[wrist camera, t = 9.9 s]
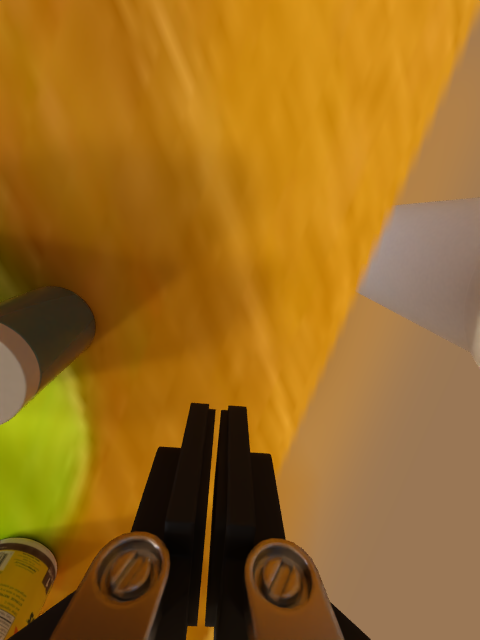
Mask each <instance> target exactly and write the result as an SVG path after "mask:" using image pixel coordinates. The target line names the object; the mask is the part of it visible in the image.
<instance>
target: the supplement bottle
mask: <svg viewBox="0 0 480 640" xmlns="http://www.w3.org/2000/svg"><path fill="white" fill-rule="evenodd" d="M56 574H57V563H56V560H55V557H54V556H53V554H52V553H51V551H50V550H49V549H48V548H46V547H45V546H44V545H42V544H41V543H39V542H36V541H34V540H31V539H26V538H7V539H3V540H0V640H7V639H8V638H10V637H11V636H13V635H14V634H15V633H17V632H18V631H20V630H21V629H22V628H24V627H25V626H27V625H28V624H29V623H31V622H32V621H34V620H35V619H36V618H38V615H39V613H40V611H41V609H42V607H43V605H44V603H45V600H46V598H47V596H48V594H49V592H50V589H51V587H52V585H53V583H54V580H55V578H56Z"/></svg>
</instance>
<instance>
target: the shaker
mask: <svg viewBox="0 0 480 640" xmlns="http://www.w3.org/2000/svg"><path fill="white" fill-rule="evenodd" d="M94 335H95V320H94V316H93V314H92V312H91V310H90V308H89V306H88V305H87V304H86V303H85V301H84V300H83V299H82V298H80V297H79V296H78V295H76V294H75V293H73V292H71V291H69V290H67V289H64V288H61V287H55V286H46V287H40V288H37V289H34V290H32V291H29V292H26V293H23V294H20V295H18V296H15V297H12V298H9V299H7V300H4V301H1V302H0V425H1V424H3V423H5V422H7V421H9V420H10V419H12V418H13V417H14V416H15V415H16V414H17V413H18V412H20V411H21V410H22V409H23V408H24V407H25V406H26V405H27V404H28V403H29V402H30V401H31V400H32V399H33V398H35V397H36V396H37V395H38V394H39V393H40V392H41V391H42V390H43V389H44V388H45V387H46V386H47V385H48V384H49V383H51V382H52V381H53V380H54V379H55V378H56V377H57V376H58V375H59V374H60V373H61V372H62V371H63V370H64V369H65V368H67V367H68V366H69V365H70V364H71V363H72V362H73V361H74V360H75V359H76V358H77V357H78V356H79V355H80V354H82V353H83V352H84V351H85V350H86V349H87V348H88V347H89V345H90V344H91V342H92V340H93V338H94Z"/></svg>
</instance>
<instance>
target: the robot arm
mask: <svg viewBox="0 0 480 640" xmlns="http://www.w3.org/2000/svg"><path fill="white" fill-rule="evenodd" d="M214 422H215V409H209V404H200V403H191V406H190V410H189V415H188V419H187V424H186V428H185V433H184V437H183V442H182V446H181V448H173V447H159V448H158V450H157V452H156V455H155V459H154V462H153V465H152V468H151V471H150V474H149V477H148V480H147V483H146V486H145V489H144V493H143V496H142V499H141V502H140V505H139V508H138V511H137V514H136V517H135V520H134V523H133V527H132V530H131V532H130V533H126V534H123V535H121V536H119V537H117V538H115V539H113V540H111V541H110V542H109V543H108V544H107V545H106V546H104V547H103V548H102V549H101V550H100V552H99V553H98V554H97V556H96V557H95V559H94V560H93V562H92V564H91V565H90V567H89V569H88V571H87V572H86V574H85V576H84V578H83V580H82V581H81V583H80V585H79V587H78V588H77V590H76V591H74V592H73V593H71V594H70V595H69V596H67V597H66V598H64V599H63V600H62V601H60V602H59V603H57V604H56V605H55V606H53V607H52V608H50V609H49V610H48V611H46V612H45V613H43V614H42V615H41V616H39V617H38V618H36V619H35V620H34V621H32V622H31V623H29V624H28V625H27V626H25V627H24V628H22V629H21V630H20V631H18V632H17V633H15V634H14V635H13V636H11V637H10V638H8V639H7V640H186V634H187V626H197V620H198V609H199V597H200V586H201V575H202V563H203V552H204V541H205V529H206V518H207V506H208V494H209V482H210V470H211V458H212V446H213V434H214ZM205 626H207V627H214V640H370V638H369V637H368V636H366V635H365V634H364V633H363V632H362V631H361V630H360V629H359V628H358V627H357V626H356V625H355V624H353V623H352V622H351V621H350V620H349V619H348V618H347V617H346V616H345V615H344V614H343V613H341V611H339V610H338V609H337V608H336V607H335V606H334V605H333V604H332V603H331V602H330V601H329V598H328V596H327V593H326V590H325V588H324V585H323V583H322V580H321V578H320V575H319V572H318V570H317V568H316V566H315V564H314V562H313V561H312V559H311V558H310V556H309V555H308V554H307V553H306V552H305V551H304V550H303V549H302V548H300V547H299V546H298V545H296V544H295V543H293V542H290V541H287V540H286V539H285V533H284V528H283V522H282V516H281V511H280V504H279V499H278V493H277V486H276V480H275V475H274V469H273V463H272V458H271V455H270V454H265V453H250V445H249V433H248V421H247V409H246V407H241V406H228V410H221V417H220V428H219V439H218V449H217V460H216V471H215V482H214V494H213V510H212V525H211V540H210V555H209V571H208V586H207V601H206V617H205Z"/></svg>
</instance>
